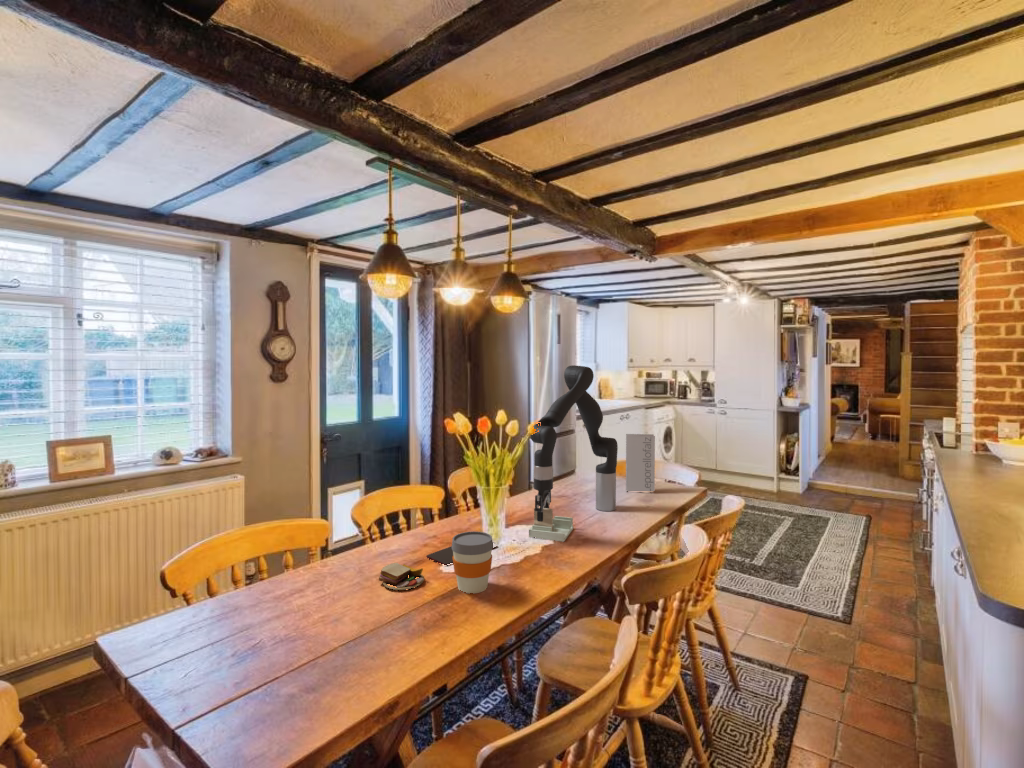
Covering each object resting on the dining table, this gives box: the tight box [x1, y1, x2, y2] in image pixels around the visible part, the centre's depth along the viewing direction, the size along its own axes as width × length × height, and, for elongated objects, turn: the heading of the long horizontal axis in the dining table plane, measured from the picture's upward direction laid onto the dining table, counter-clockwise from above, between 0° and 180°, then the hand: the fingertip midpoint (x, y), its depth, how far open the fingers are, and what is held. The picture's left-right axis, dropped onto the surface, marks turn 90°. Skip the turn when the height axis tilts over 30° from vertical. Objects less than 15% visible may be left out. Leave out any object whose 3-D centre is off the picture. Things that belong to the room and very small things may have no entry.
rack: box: [528, 515, 574, 543], centre depth 198 cm, size 16×14×4 cm
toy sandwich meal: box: [378, 562, 425, 591], centre depth 154 cm, size 12×14×5 cm
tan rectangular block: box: [533, 507, 554, 532], centre depth 194 cm, size 2×7×10 cm, turn 70°
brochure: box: [625, 433, 656, 491], centre depth 260 cm, size 14×6×30 cm, turn 81°
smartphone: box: [425, 545, 453, 565], centre depth 178 cm, size 12×2×25 cm
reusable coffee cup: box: [451, 530, 494, 594], centre depth 150 cm, size 13×13×15 cm
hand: (543, 517), depth 194 cm, fingers open, 8 cm apart
